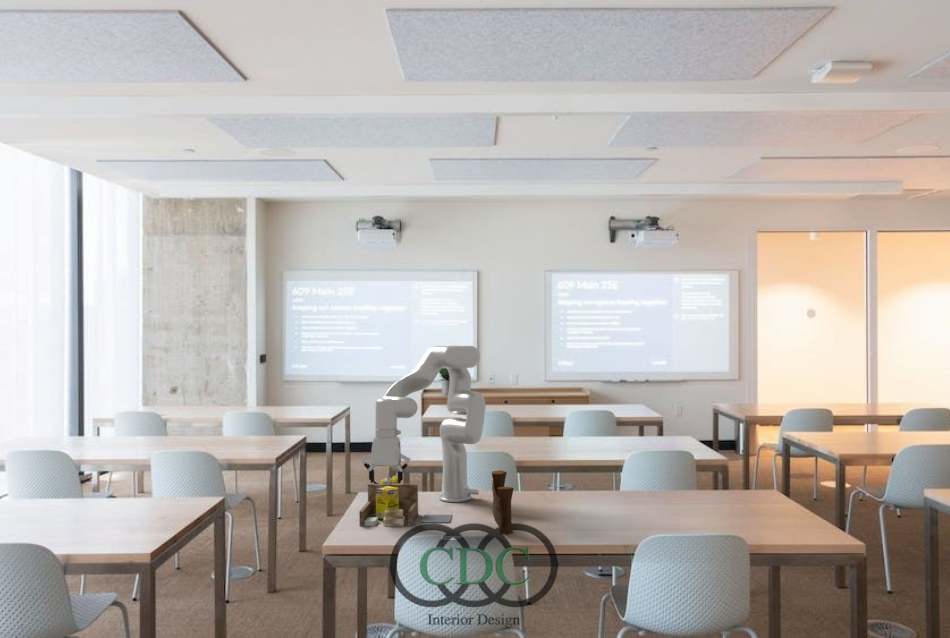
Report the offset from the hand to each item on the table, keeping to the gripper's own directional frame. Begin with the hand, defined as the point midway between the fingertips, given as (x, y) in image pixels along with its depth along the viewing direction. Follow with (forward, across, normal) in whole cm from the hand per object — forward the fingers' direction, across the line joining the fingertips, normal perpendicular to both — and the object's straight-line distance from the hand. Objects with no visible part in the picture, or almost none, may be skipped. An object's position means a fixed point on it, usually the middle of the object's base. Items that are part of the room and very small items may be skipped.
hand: (385, 482), depth 265 cm
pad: (+13, -18, 0) cm, 22 cm away
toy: (+13, +4, -25) cm, 29 cm away
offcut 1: (+14, +4, +6) cm, 15 cm away
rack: (+13, -2, +1) cm, 13 cm away
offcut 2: (+11, -4, +6) cm, 13 cm away
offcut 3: (+14, -4, +6) cm, 15 cm away
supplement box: (+13, -1, -1) cm, 13 cm away
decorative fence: (+13, -41, +4) cm, 43 cm away
